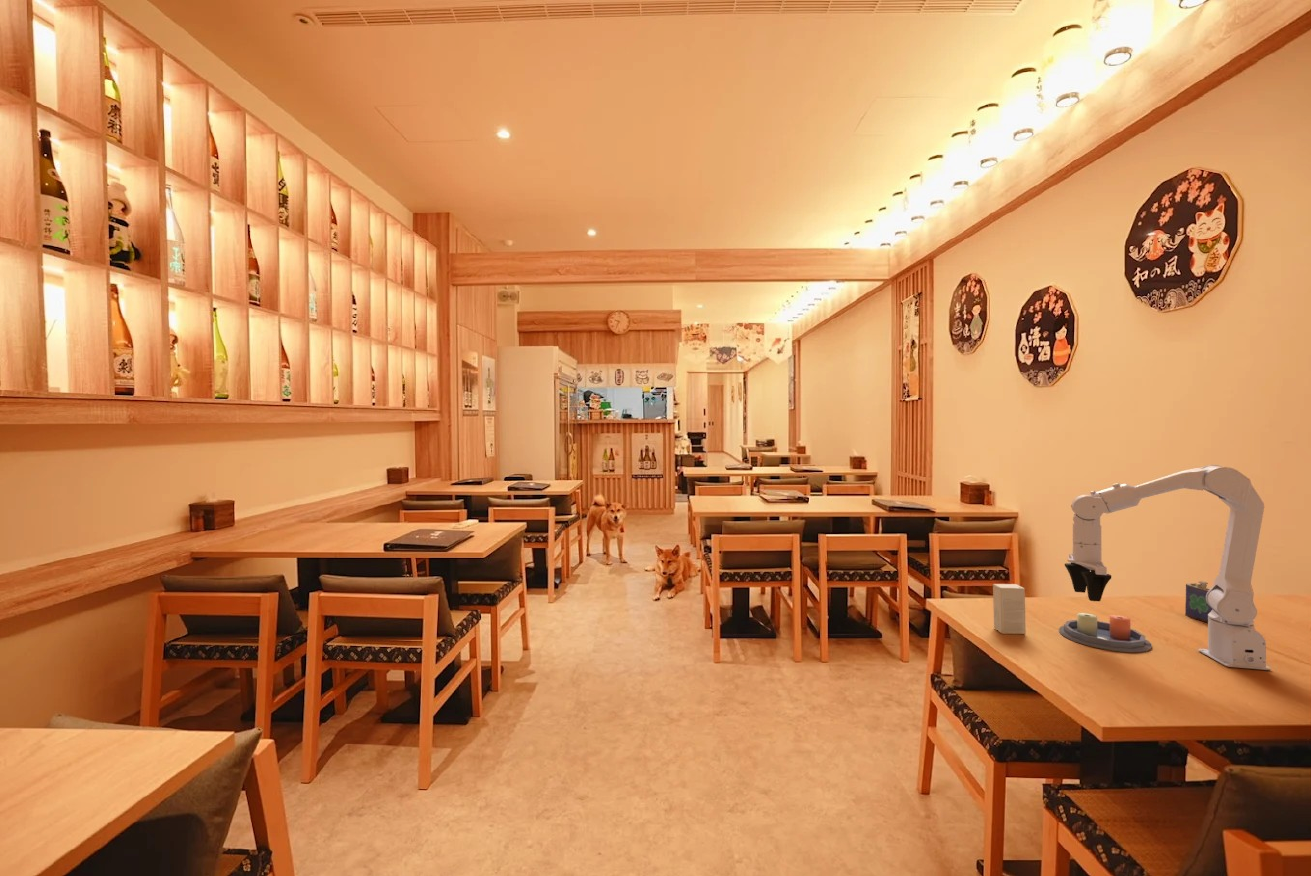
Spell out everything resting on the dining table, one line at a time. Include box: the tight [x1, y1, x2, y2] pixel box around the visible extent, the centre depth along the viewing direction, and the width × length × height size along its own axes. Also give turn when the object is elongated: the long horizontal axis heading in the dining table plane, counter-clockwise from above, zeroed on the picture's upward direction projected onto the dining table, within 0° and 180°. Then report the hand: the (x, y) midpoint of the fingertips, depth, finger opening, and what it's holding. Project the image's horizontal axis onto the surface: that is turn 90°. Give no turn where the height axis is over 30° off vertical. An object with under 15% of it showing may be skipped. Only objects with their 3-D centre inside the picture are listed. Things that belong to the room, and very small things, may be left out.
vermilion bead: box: [1109, 614, 1131, 641], centre depth 137 cm, size 4×4×5 cm
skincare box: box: [992, 583, 1027, 635], centre depth 144 cm, size 6×4×12 cm
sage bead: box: [1076, 612, 1098, 637], centre depth 139 cm, size 4×4×5 cm
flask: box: [1184, 580, 1212, 624], centre depth 151 cm, size 9×3×11 cm, turn 2°
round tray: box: [1058, 619, 1153, 654], centre depth 138 cm, size 18×18×2 cm
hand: (1087, 596), depth 139 cm, fingers open, 7 cm apart
